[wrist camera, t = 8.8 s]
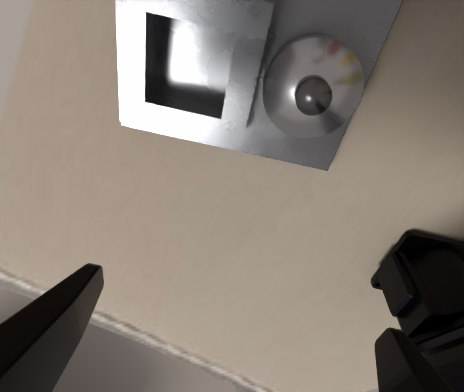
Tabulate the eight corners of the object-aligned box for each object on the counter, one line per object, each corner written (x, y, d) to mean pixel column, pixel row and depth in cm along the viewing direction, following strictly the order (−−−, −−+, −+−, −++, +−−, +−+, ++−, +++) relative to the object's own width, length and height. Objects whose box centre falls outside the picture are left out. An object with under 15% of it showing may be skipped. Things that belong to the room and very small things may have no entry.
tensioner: (400, -8, 15) (428, -7, 12) (325, 165, 21) (333, 191, 18) (121, -73, 14) (87, -87, 12) (126, 120, 20) (104, 141, 18)
